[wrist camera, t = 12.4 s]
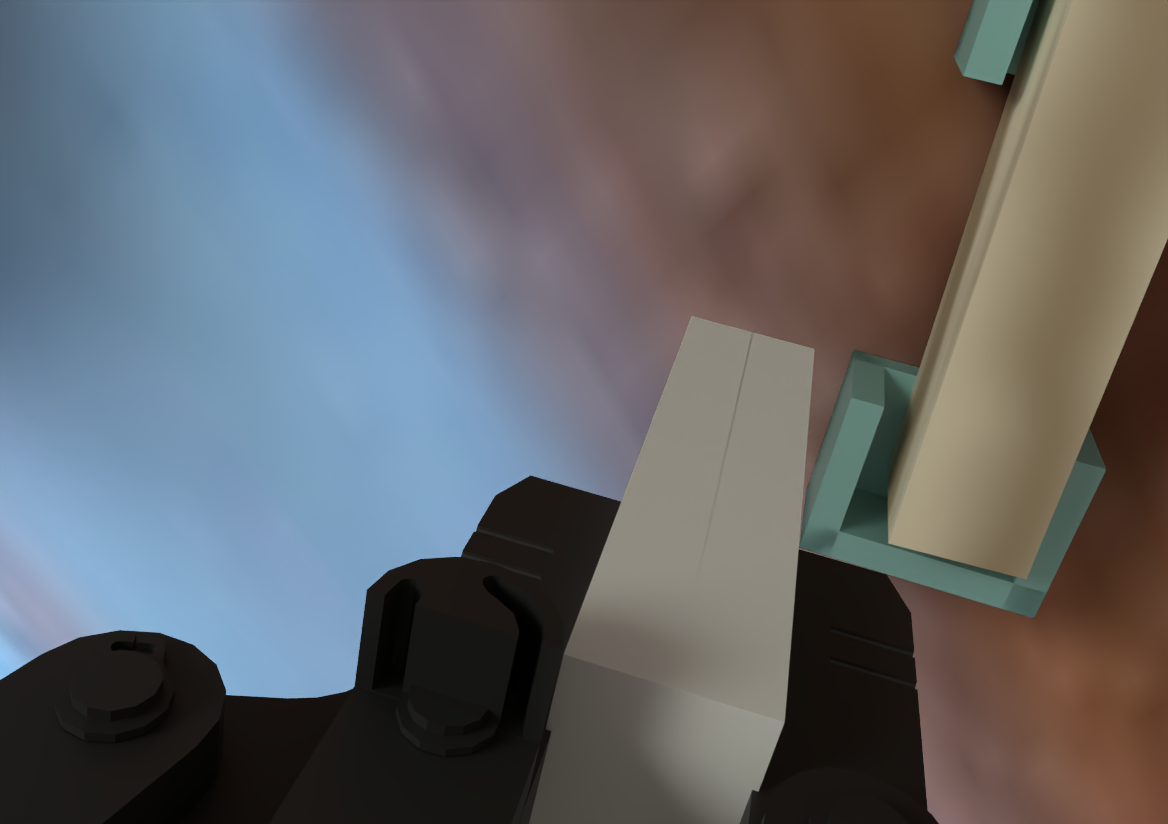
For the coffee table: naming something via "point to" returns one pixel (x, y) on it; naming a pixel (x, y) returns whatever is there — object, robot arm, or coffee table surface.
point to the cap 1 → (860, 497)
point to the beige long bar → (1039, 287)
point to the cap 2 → (994, 38)
